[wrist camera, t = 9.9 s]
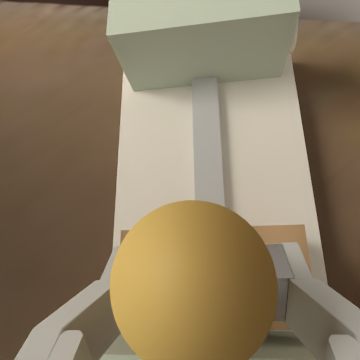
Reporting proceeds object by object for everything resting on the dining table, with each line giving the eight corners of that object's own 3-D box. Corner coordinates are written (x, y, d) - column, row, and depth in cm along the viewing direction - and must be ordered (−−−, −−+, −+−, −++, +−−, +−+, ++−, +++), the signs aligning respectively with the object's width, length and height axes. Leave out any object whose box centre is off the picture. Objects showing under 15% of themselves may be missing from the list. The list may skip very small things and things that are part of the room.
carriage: (133, 318, 18) (-74, 426, 5) (135, 236, 19) (-19, 172, 7) (302, 320, 16) (548, 468, 4) (291, 231, 18) (443, 143, 6)
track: (116, 371, 20) (49, 434, 12) (130, 77, 27) (95, 2, 19) (332, 379, 18) (412, 458, 10) (284, 61, 25) (310, -29, 18)
